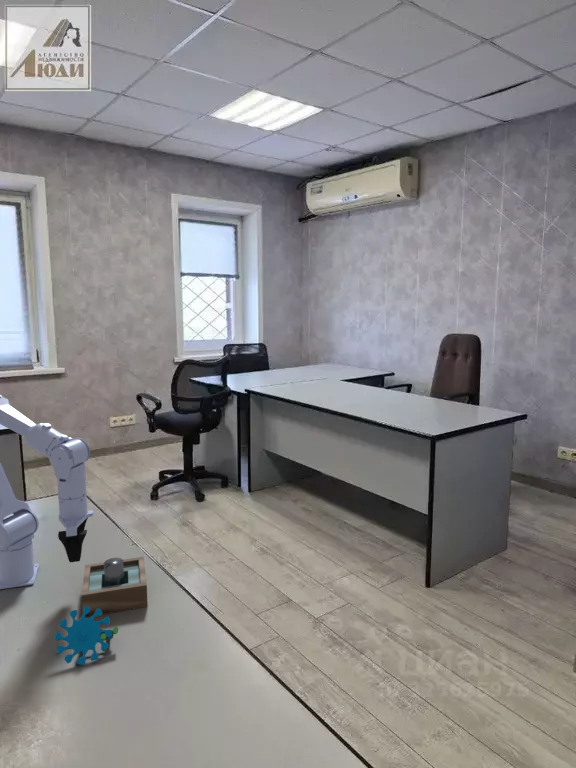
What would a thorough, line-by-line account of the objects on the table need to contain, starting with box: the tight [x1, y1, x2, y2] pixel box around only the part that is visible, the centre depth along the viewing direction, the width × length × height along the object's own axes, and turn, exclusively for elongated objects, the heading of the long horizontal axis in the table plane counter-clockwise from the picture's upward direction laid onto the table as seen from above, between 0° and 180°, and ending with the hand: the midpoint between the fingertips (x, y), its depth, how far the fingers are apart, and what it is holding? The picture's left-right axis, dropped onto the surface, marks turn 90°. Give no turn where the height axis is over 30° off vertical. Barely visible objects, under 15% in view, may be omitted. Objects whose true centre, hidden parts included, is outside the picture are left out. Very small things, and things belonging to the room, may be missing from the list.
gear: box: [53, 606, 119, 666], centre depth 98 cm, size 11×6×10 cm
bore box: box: [81, 556, 148, 618], centre depth 115 cm, size 13×13×5 cm
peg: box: [103, 557, 124, 587], centre depth 115 cm, size 4×4×7 cm
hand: (76, 552), depth 115 cm, fingers open, 7 cm apart
